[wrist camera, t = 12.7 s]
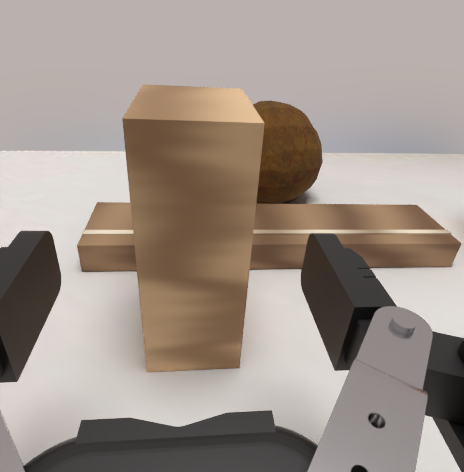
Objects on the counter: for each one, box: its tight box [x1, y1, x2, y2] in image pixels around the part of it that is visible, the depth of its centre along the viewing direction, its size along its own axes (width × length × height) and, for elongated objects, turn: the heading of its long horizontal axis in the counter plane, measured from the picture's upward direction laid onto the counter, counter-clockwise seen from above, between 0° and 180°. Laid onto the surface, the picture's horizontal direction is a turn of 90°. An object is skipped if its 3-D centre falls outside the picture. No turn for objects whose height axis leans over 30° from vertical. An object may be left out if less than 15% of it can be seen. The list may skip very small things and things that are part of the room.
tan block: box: [123, 85, 265, 372], centre depth 20 cm, size 4×12×12 cm, turn 6°
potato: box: [253, 101, 322, 204], centre depth 33 cm, size 8×12×9 cm
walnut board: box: [77, 202, 461, 271], centre depth 27 cm, size 26×6×2 cm, turn 96°
